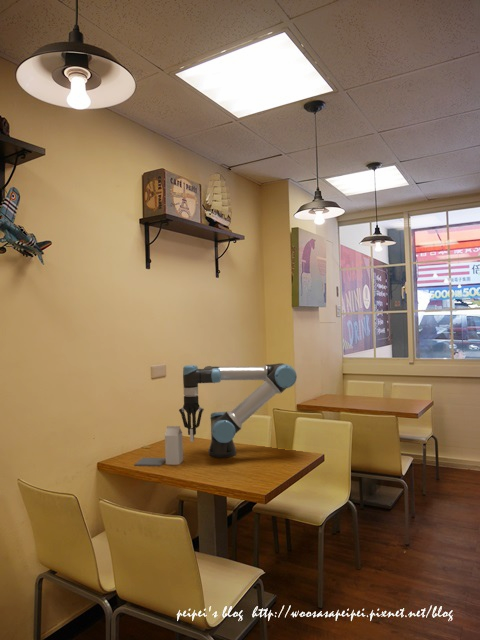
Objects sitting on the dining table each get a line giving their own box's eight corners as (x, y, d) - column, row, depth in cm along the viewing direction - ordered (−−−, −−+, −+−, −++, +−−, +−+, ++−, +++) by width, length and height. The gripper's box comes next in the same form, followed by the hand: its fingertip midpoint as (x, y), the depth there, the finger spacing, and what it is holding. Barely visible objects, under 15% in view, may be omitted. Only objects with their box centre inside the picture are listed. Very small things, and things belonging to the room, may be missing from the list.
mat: (167, 459, 246) (167, 457, 246) (160, 466, 234) (160, 464, 234) (142, 459, 248) (142, 457, 248) (134, 465, 236) (134, 464, 236)
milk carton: (178, 465, 235) (177, 427, 235) (165, 464, 236) (164, 427, 237) (183, 461, 242) (182, 424, 242) (170, 460, 243) (169, 424, 244)
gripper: (204, 394, 241) (206, 439, 240) (180, 394, 243) (182, 439, 242) (201, 396, 233) (202, 443, 233) (176, 396, 235) (177, 442, 235)
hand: (192, 441), depth 238 cm, fingers closed
